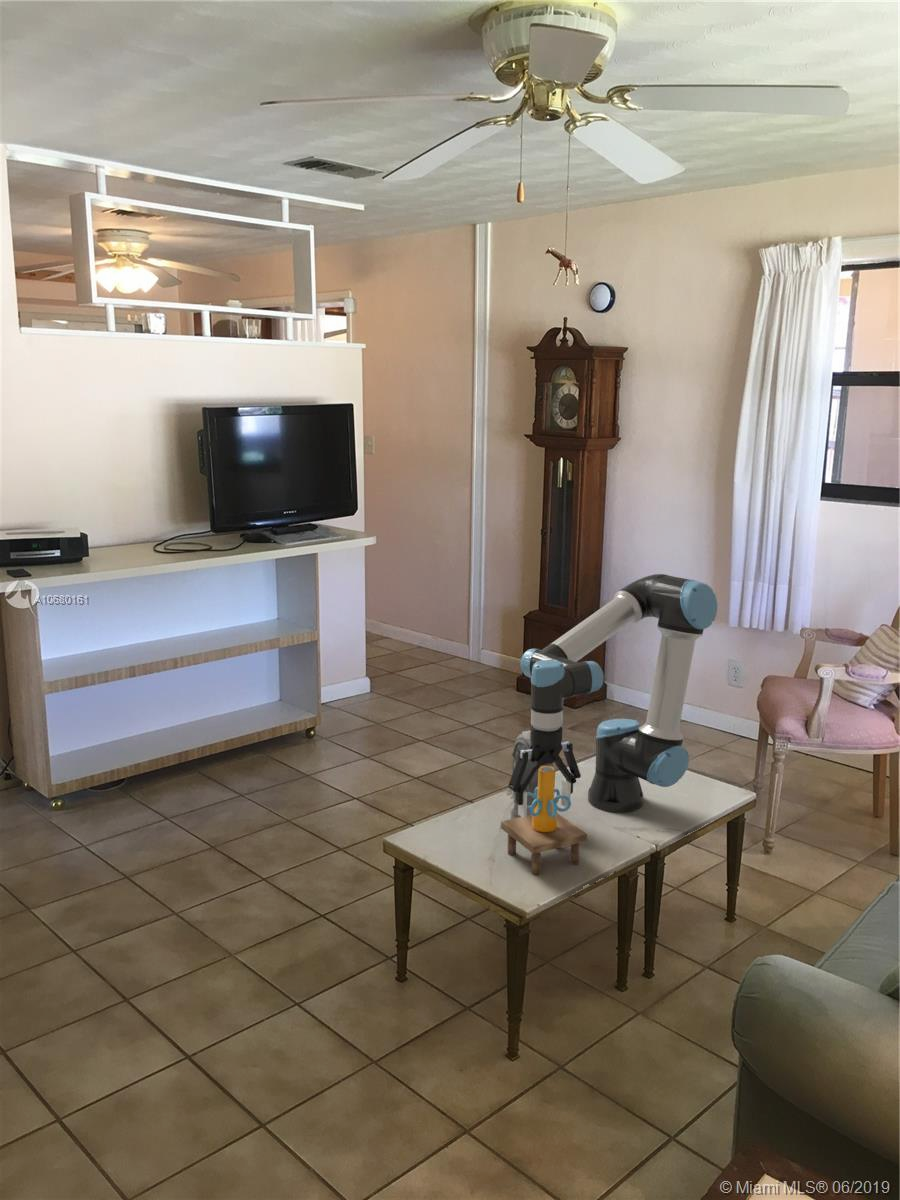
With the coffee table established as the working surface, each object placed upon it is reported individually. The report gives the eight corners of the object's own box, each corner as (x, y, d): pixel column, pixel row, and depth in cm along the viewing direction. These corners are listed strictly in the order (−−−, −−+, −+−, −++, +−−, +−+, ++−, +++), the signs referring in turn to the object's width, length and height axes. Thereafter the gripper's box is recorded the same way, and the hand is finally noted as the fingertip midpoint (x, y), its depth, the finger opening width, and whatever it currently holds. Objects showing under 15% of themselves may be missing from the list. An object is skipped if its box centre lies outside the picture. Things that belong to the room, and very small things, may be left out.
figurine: (527, 805, 264) (529, 718, 258) (562, 823, 252) (565, 733, 247) (499, 813, 258) (501, 725, 253) (534, 833, 247) (536, 741, 241)
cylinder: (539, 813, 240) (542, 756, 237) (575, 825, 234) (579, 767, 230) (511, 829, 230) (514, 770, 227) (548, 842, 224) (551, 782, 221)
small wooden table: (551, 839, 244) (552, 809, 242) (586, 864, 231) (587, 833, 229) (500, 851, 237) (501, 821, 235) (533, 878, 224) (533, 847, 222)
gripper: (579, 713, 235) (576, 796, 240) (494, 728, 224) (493, 815, 229) (597, 722, 229) (594, 807, 233) (510, 739, 218) (509, 827, 222)
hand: (544, 811), depth 231 cm, fingers open, 12 cm apart
